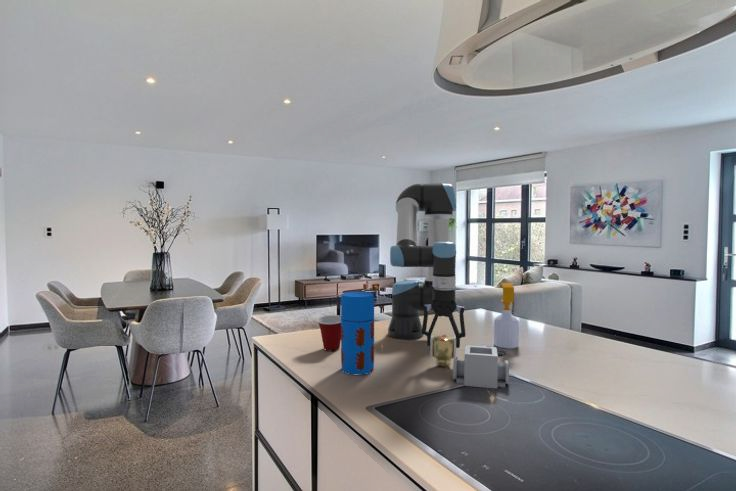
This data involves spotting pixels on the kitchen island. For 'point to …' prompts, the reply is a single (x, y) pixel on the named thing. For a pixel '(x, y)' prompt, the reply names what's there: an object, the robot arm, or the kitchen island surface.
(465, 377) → the grey box with flanges
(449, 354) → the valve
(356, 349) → the thermos
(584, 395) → the kitchen island surface
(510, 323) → the soap bottle
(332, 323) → the plastic cup
